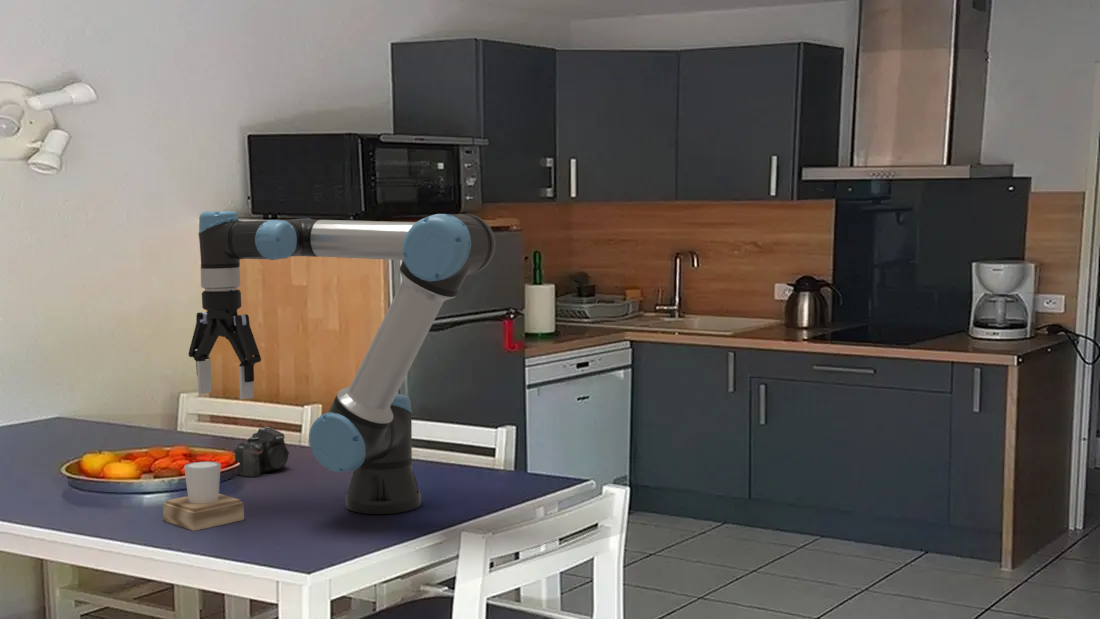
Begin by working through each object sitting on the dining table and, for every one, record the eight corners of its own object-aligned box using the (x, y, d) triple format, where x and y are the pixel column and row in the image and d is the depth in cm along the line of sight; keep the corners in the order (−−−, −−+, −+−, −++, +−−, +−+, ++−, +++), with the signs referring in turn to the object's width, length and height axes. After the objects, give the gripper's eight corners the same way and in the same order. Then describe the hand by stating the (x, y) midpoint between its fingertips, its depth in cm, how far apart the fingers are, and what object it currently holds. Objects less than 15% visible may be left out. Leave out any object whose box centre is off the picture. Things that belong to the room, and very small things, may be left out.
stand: (244, 519, 247) (243, 499, 247) (194, 530, 239) (193, 510, 239) (212, 510, 254) (212, 490, 254) (163, 520, 246) (162, 500, 246)
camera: (271, 479, 282) (270, 435, 281) (230, 476, 284) (229, 433, 284) (297, 466, 295) (296, 424, 294) (258, 464, 297) (257, 422, 296)
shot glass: (177, 502, 244) (176, 466, 244) (200, 494, 251) (199, 459, 250) (207, 505, 242) (206, 469, 241) (229, 497, 248) (228, 462, 248)
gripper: (276, 289, 246) (280, 398, 248) (199, 286, 262) (203, 388, 264) (245, 292, 240) (249, 403, 242) (167, 288, 256) (172, 392, 258)
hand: (225, 395), depth 253 cm, fingers open, 13 cm apart
